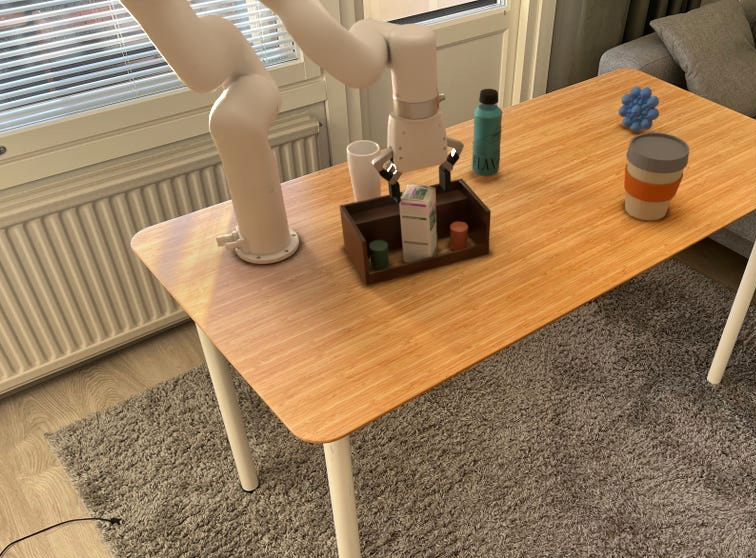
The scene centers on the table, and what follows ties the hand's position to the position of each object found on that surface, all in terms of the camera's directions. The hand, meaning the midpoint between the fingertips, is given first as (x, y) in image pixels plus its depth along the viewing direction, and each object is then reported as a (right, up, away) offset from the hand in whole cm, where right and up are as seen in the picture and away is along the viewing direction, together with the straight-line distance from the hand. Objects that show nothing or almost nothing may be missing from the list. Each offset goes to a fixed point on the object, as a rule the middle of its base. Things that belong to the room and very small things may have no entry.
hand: (420, 193), depth 132 cm
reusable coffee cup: (+48, +2, +24) cm, 54 cm away
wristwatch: (-8, +14, +35) cm, 38 cm away
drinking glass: (-12, +1, +21) cm, 25 cm away
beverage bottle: (+13, +12, +33) cm, 38 cm away
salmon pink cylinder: (+7, -8, +13) cm, 16 cm away
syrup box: (-1, -10, +10) cm, 14 cm away
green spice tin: (-8, -13, +7) cm, 17 cm away
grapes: (+53, +28, +51) cm, 78 cm away
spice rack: (-2, -9, +11) cm, 14 cm away
